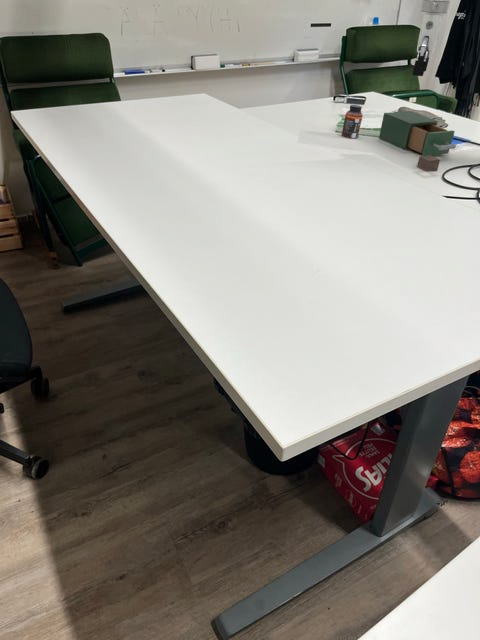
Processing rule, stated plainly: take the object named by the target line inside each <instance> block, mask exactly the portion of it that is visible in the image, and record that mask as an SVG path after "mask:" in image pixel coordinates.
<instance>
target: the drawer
mask: <svg viewBox="0 0 480 640" xmlns="http://www.w3.org/2000/svg"><path fill="white" fill-rule="evenodd" d="M455 132H456V131H455V130H453V129H452V130H448V129H447V128H443V127H440V126H438V125H437V126H435V125H433V124H426V125H415V126H412V127H411V131H410V136H409V140H408V144H407V147H409V148H411V149H413V150H414V151H415V152H418V153H420V154H421V156H427V155H431V156H441V155H449V152H450V150H454V149H456V147H457V145H456V144H455V143H452V142H453V139H454V136H455ZM413 150H412V151H413Z"/></svg>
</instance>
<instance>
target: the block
mask: <svg viewBox="0 0 480 640" xmlns="http://www.w3.org/2000/svg"><path fill="white" fill-rule="evenodd" d="M440 163H441V159H440V158H438V157H437V156H436V157H435V155H432V156H431V155H427V156H422V155H420V156H418V160H417V164H416V168H418V169H420V170H422V171H424V172H438V170H439V166H440Z"/></svg>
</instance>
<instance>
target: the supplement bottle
mask: <svg viewBox="0 0 480 640" xmlns="http://www.w3.org/2000/svg"><path fill="white" fill-rule="evenodd" d="M362 108H363V106H362V105H359V104H350V105H349V110H347V111H346V112H345V115H344V121H343V125H342V130H341V137H343V138H345V139H350V140H357V139H358V138H359V135H360V134H359V133H360V129H361V125H362V121H363V113H362Z"/></svg>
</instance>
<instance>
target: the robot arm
mask: <svg viewBox="0 0 480 640" xmlns="http://www.w3.org/2000/svg"><path fill="white" fill-rule="evenodd" d="M450 3H451V0H422V2H421V7H420V10H419V11H420V13H419V14H421V15H423V16H422V21H421V25H420V31H419V35H418V40H417V46H416V47H417V48H416V52H417V55H416V59H415V61H414V65H413V70H412V76H416V77H424V73H425V72H426V71H427V68H428V65H429V64H428V63H429V60H430V54H431V55H432V54H433V53H434V52H436V47H437V44H438V43H437V42H438V38H439V35H440V32H441V31H440V30H441V26H442V22H443V16H448V11H449V8H450V7H449V6H450Z"/></svg>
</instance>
